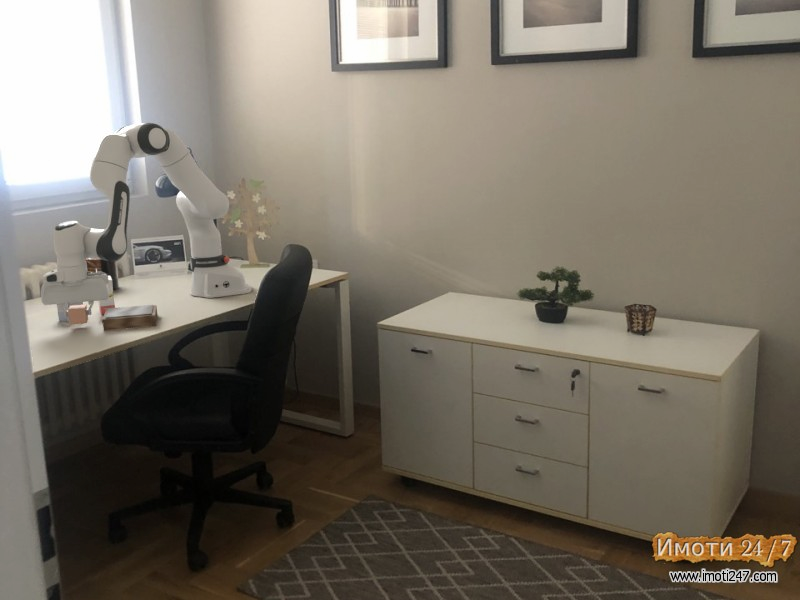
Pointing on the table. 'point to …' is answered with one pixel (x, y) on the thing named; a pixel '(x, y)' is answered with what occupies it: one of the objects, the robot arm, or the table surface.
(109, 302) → the ink cartridge box
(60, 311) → the medicine box
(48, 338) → the table surface
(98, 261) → the jar
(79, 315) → the terracotta cube
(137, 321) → the walnut riser
